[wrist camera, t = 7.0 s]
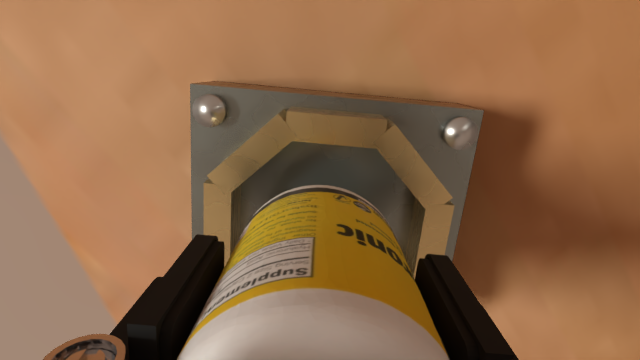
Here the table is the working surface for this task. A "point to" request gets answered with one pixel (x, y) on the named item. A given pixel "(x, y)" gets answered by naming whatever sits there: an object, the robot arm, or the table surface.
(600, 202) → the table surface
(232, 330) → the supplement bottle
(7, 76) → the table surface
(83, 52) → the table surface
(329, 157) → the octagonal bottle holder
